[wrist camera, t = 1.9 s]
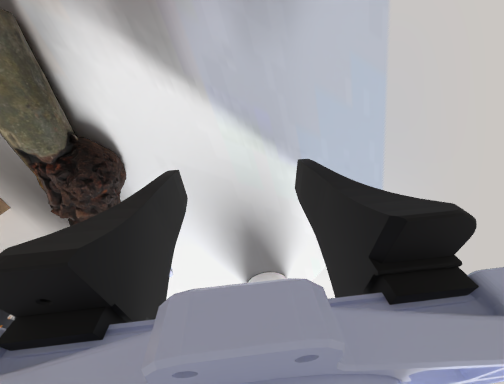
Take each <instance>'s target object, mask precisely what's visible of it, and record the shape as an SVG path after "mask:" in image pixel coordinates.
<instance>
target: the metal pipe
mask: <svg viewBox="0 0 504 384" xmlns="http://www.w3.org/2000/svg"><path fill="white" fill-rule="evenodd" d="M0 134H1V135H2V136H3V137H4V139H5V140H6V141H7V142H8V144H9V145H10V146H11V147H12V149H13V150H14V151H15V152H16V153H17V155H18V156H19V157H20V158H21V159H22V160H23V162H24V163H25V164H26V165H27V166H28V167H29V168H30V170H31V171H32V172H33V173H34V174H35V175H36V176H37V180H38V182H39V185H40V186H41V188H42V189H43V190H44V191H45V192H46V194H47V196H48V200H49V204H50V206H51V208H53V209H52V211H51V212H52V213H54V214H56V215H58V216H60V218H69V219H68V221H69V224H70V226H72V225H75V224H77V223H80V222H82V221H84V220H86V219H89V218H91V217H93V216H95V215H97V214H99V213H101V212H104V211H106V210H108V209H109V208H111V207H113V206H115V205H117V204H119V203H120V202H121V200H120V195H119V194H120V193H121V191H120V190H121V189H122V187H123V185H124V183H125V180H126V172H125V170H124V165H123V163H122V162H121V160H120V159H119V158H118V156H117V155H116V154H115V153H114V152H113V151H111V150H109V149H107V148H105V147H103V146H101V145H99V144H97V143H95V142H93V141H91V140H90V139H86V138H78V137H76V135H75V133H74V131H73V129H72V127H71V126H70V124H69V122H68V120H67V118H66V116H65V114H64V112H63V110H62V109H61V107H60V105H59V103H58V101H57V99H56V97H55V95H54V93H53V91H52V89H51V87H50V85H49V83H48V81H47V79H46V77H45V75H44V73H43V71H42V70H41V68H40V66H39V64H38V62H37V61H36V59H35V57H34V55H33V53H32V51H31V49H30V47H29V46H28V44H27V42H26V40H25V38H24V36H23V34H22V32H21V30H20V28H19V25H18V23H17V21H16V19H15V17H14V16H13V15H12V14H11V13H9V12H7V11H5V10H2V9H0Z"/></svg>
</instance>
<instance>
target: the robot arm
mask: <svg viewBox="0 0 504 384" xmlns="http://www.w3.org/2000/svg"><path fill="white" fill-rule="evenodd" d="M295 190H296V193H297V196H298V199H299V202H300V204H301V206H302V208H303V210H304V212H305V214H306V216H307V218H308V220H309V222H310V224H311V226H312V228H313V231H314V233H315V235H316V238H317V241H318V243H319V246H320V249H321V252H322V255H323V258H324V261H325V264H326V267H327V270H328V273H329V277H330V280H331V283H332V287H333V291H334V294H335V298H331V299H327V296H326V294H325V291H324V289H323V287H321V286H319V285H317V284H315V283H313V282H311V281H309V280H307V279H279V280H270V281H261V282H252V283H243V284H234V285H226V286H217V287H208V288H199V289H192V290H188V291H184V292H180V293H177V294H174V295H172V296H171V297H169V298H168V299H167V300H166V297H167V289H168V282H169V277H171V276H172V275H173V273H172V271H171V264H172V258H173V253H174V248H175V245H176V241H177V238H178V235H179V232H180V229H181V225H182V222H183V219H184V216H185V212H186V206H187V199H188V198H187V194H186V191H185V188H184V185H183V182H182V179H181V176H180V172H179V170H172V171H167V172H165V173H163V174H162V175H160V176H159V177H158V178H156V179H155V180H153V181H152V182H151V183H149V184H148V185H146V186H145V187H144V188H142V189H141V190H139V191H138V192H136V193H135V194H133V195H132V196H130V197H129V198H127V199H125V200H124V201H122V202H120V203H119V204H117V205H115V206H113V207H111V208H109V209H108V210H106V211H104V212H101V213H99V214H97V215H95V216H93V217H91V218H89V219H86V220H84V221H82V222H80V223H77V224H75V225H72V226H70V227H67V228H65V229H62V230H60V231H57V232H54V233H52V234H49V235H46V236H43V237H40V238H37V239H34V240H31V241H28V242H25V243H22V244H19V245H16V246H12V247H9V248H7V249H5V250H4V251H3V252H1V253H0V309H1V310H3V311H5V312H7V313H9V314H11V315H12V316H14V317H16V318H15V320H14V321H13V322H12V323H11V324H10V326H9V327H8V328H7V329H5V328H1V327H0V384H491V383H498V382H504V267H502V268H493V269H485V270H478V271H475V272H472V273H470V274H469V275H466V274H465V273H464V272H463V271H462V270H461V269H459V267H458V266H461V265H462V262H461V261H460V260H459V259H458V258H457V257H456V256H455V255H454V254H455V253H456V252H457V251H458V250H459V249H460V248H461V247H462V246H463V245H464V244H465V243H466V242H467V241H468V240H469V239H470V237H471V236H472V235H473V233H474V232H475V229H476V219H475V218H474V217H473V216H472V215H470V214H469V213H467V212H466V211H464V210H463V209H461V208H460V207H458V206H457V205H455V204H452V203H445V202H439V201H431V200H425V199H419V198H414V197H409V196H404V195H399V194H395V193H391V192H387V191H384V190H380V189H377V188H373V187H370V186H367V185H364V184H362V183H359V182H356V181H354V180H351V179H349V178H346V177H344V176H342V175H340V174H338V173H336V172H334V171H332V170H330V169H328V168H326V167H324V166H322V165H320V164H318V163H316V162H314V161H312V160H310V159H300V160H298V163H297V173H296V182H295Z"/></svg>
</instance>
